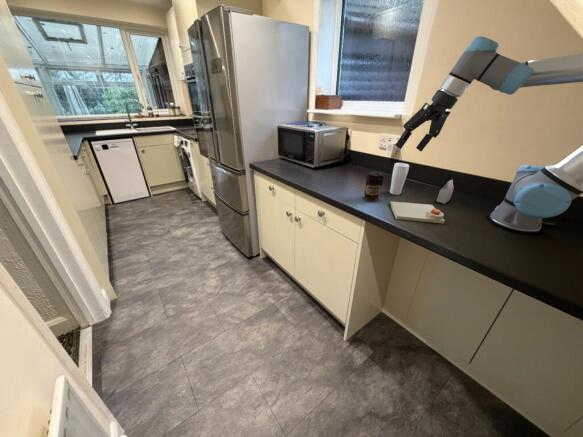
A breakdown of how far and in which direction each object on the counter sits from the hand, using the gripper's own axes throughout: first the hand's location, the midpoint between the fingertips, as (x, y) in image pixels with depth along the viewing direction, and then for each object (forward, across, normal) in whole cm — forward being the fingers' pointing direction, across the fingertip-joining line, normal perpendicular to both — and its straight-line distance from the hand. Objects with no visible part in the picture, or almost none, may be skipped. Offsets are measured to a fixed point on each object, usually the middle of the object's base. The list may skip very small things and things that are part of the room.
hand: (408, 148), depth 93 cm
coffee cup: (+28, -1, -1) cm, 29 cm away
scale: (+20, -7, +17) cm, 27 cm away
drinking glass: (+26, -18, -2) cm, 32 cm away
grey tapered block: (+18, -31, +14) cm, 38 cm away
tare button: (+15, -8, +23) cm, 28 cm away
